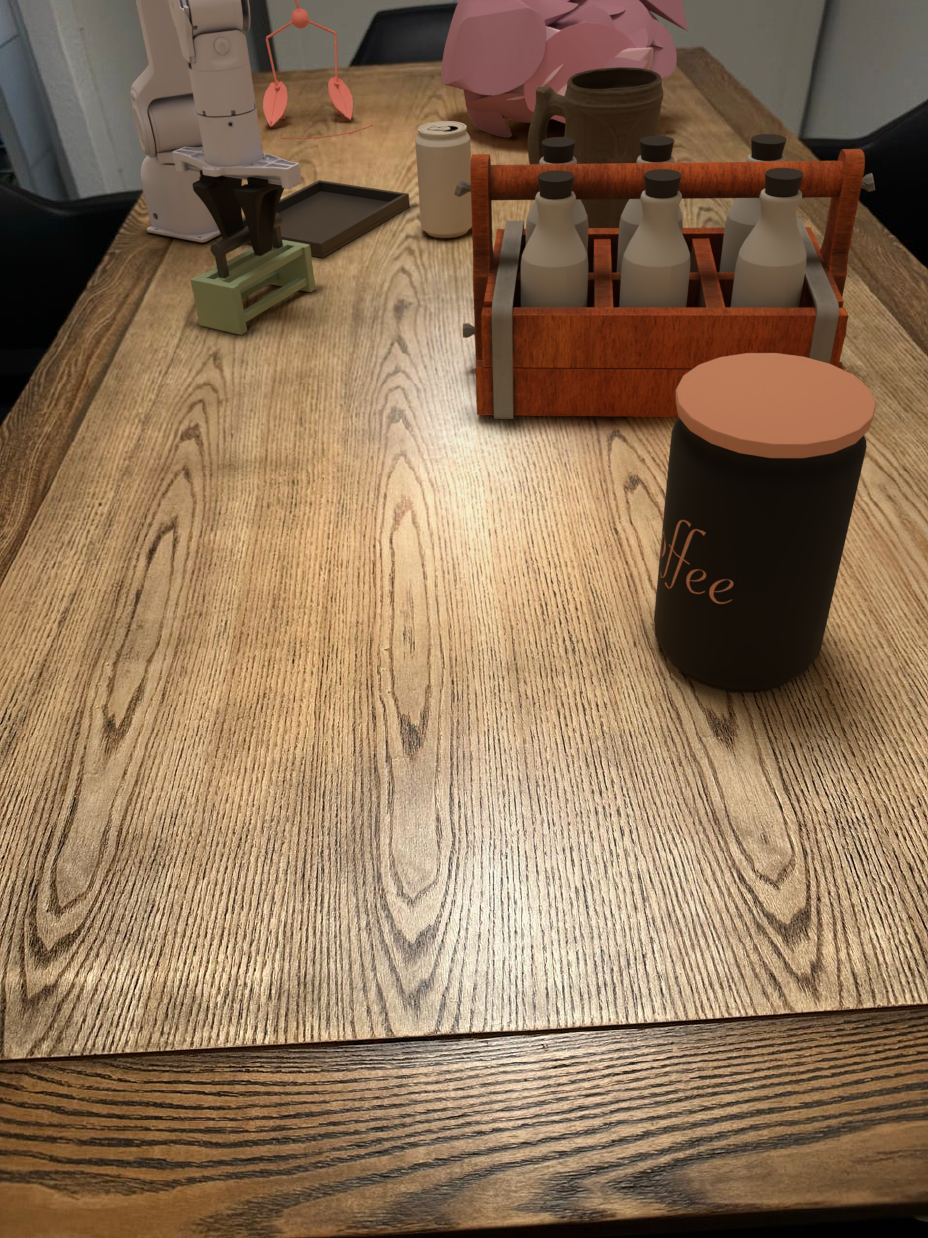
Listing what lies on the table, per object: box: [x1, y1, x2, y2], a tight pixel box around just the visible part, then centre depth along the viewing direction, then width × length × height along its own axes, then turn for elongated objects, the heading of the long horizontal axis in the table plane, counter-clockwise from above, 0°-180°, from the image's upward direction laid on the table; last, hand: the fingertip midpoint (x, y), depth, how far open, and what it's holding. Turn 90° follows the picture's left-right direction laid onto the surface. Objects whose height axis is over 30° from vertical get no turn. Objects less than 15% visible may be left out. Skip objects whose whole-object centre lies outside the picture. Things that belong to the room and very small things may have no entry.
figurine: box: [262, 0, 374, 140], centre depth 157 cm, size 15×26×35 cm, turn 96°
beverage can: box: [414, 120, 472, 239], centre depth 127 cm, size 6×6×12 cm
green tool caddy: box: [190, 213, 317, 336], centre depth 113 cm, size 6×13×8 cm, turn 150°
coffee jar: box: [653, 353, 877, 693], centre depth 64 cm, size 11×11×18 cm
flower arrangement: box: [440, 0, 689, 138], centre depth 155 cm, size 35×24×28 cm
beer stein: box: [527, 67, 665, 228], centre depth 115 cm, size 15×11×20 cm
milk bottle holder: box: [454, 133, 876, 420], centre depth 94 cm, size 21×35×19 cm, turn 85°
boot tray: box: [242, 179, 411, 259], centre depth 134 cm, size 14×19×2 cm
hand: (249, 249), depth 111 cm, fingers open, 3 cm apart
